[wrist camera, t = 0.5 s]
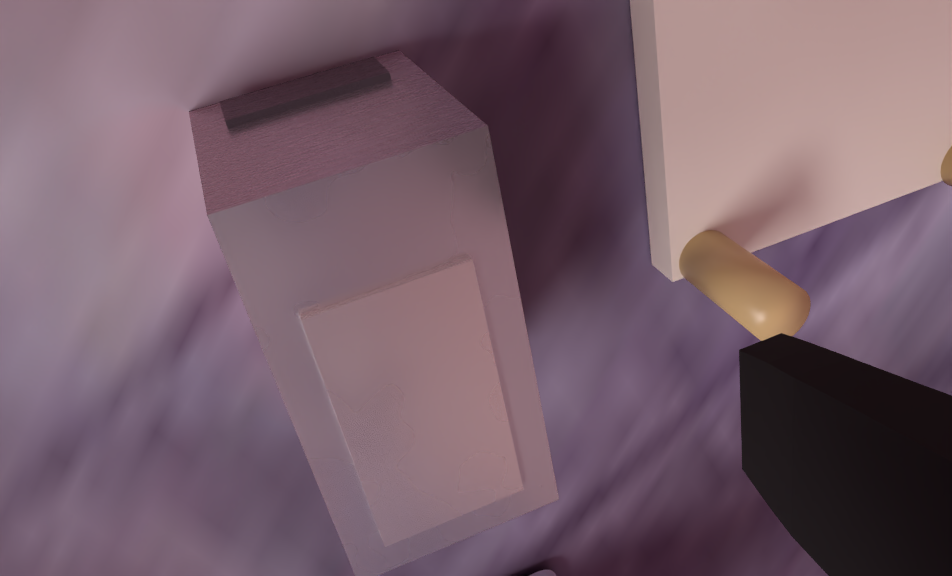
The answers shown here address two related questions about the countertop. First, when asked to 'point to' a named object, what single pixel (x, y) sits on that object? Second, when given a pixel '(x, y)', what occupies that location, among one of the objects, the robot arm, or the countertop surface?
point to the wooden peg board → (782, 131)
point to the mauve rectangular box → (382, 301)
